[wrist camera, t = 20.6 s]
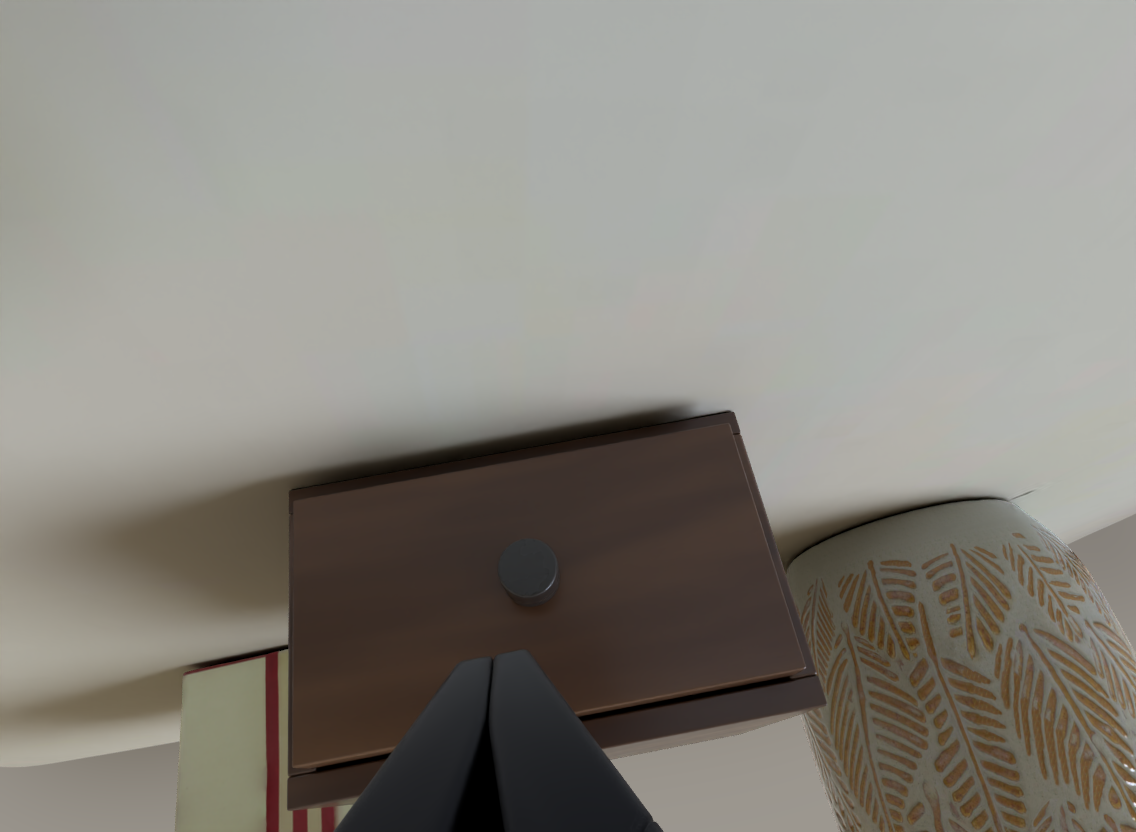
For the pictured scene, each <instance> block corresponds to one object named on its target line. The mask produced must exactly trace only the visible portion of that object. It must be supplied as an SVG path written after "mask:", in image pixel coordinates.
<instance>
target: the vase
mask: <svg viewBox="0 0 1136 832" xmlns="http://www.w3.org/2000/svg"><path fill="white" fill-rule="evenodd" d="M786 577H787V580H788V583H789V586H790V589H791V592H792V596H793V599H794V602H795V605H796V608H797V611H798V614H799V617H800V621H801V624H802V627H803V630H804V633H805V636H806V639H807V642H808V646H809V649H810V652H811V655H812V658H813V661H814V664H815V667H816V670H817V674H816V675H817V676H818V677H819V679H820V682H821V685H822V688H823V692H824V695H825V698H826V701H827V705H826V706H824V707H821V708H818V709H815V710H812V711H809V712H806V713H803V714H800V716H801V719H802V723H803V726H804V730H805V733H806V736H807V739H808V742H809V745H810V748H811V751H812V755H813V758H814V761H815V764H816V767H817V770H818V773H819V776H820V779H821V781H822V785H823V788H824V790H825V794H826V796H827V799H828V802H829V805H830V807H831V810H832V813H833V816H834V818H835V821H836V824H837V827H838V830H839V832H1136V653H1135V651H1134V649H1133V647H1132V645H1131V643H1130V642H1129V640H1128V638H1127V636H1126V634H1125V632H1124V631H1123V629H1122V627H1121V625H1120V623H1119V622H1118V620H1117V618H1116V616H1115V614H1114V613H1113V611H1112V609H1111V608H1110V606H1109V604H1108V602H1107V600H1106V599H1105V597H1104V595H1103V594H1102V592H1101V590H1100V588H1099V587H1098V585H1097V583H1096V582H1095V580H1094V578H1093V577H1092V575H1091V574H1090V573H1089V571H1088V570H1087V568H1086V567H1085V566H1084V565H1083V563H1082V562H1081V561H1080V560H1079V558H1078V557H1077V556H1076V555H1075V554H1074V553H1073V551H1072V550H1071V549H1070V548H1069V547H1068V546H1067V545H1066V544H1065V543H1064V542H1063V541H1062V540H1061V539H1060V538H1058V537H1057V536H1056V535H1055V534H1054V533H1052V532H1051V531H1050V530H1049V529H1048V528H1046V527H1045V526H1044V525H1042V524H1041V523H1040V522H1038V521H1037V520H1036V519H1034V518H1033V517H1032V516H1030V515H1029V514H1028V513H1026V512H1025V511H1024V510H1022V509H1021V508H1020V507H1019V506H1017V505H1016V504H1013V503H1010V502H1008V501H1002V500H971V501H961V502H954V503H947V504H942V505H937V506H931V507H927V508H922V509H918V510H914V511H909V512H906V513H902V514H898V515H894V516H891V517H887V518H884V519H881V520H878V521H874V522H871V523H868V524H865V525H863V526H860V527H857V528H854V529H851V530H849V531H846V532H844V533H841V534H839V535H836V536H834V537H832V538H830V539H827V540H825V541H823V542H821V543H819V544H817V545H815V546H813V547H812V548H810V549H808V550H807V551H805V552H803V553H802V554H801V555H799V556H798V557H797V558H795V559H794V560H793V562H792V563H791V564H790V565H789V567H788V570H787V574H786Z"/></svg>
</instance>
